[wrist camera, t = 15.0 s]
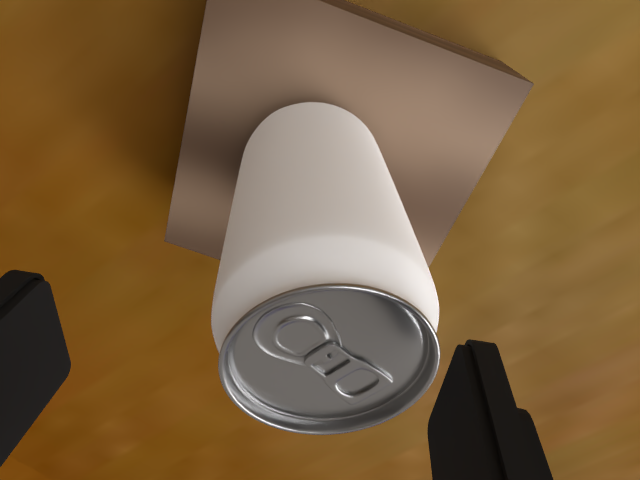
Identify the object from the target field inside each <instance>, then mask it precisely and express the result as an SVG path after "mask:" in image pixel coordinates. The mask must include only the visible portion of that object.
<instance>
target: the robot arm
mask: <svg viewBox="0 0 640 480" xmlns="http://www.w3.org/2000/svg"><path fill="white" fill-rule="evenodd" d="M70 367H71V362H70V358H69V354H68V350H67V346H66V343H65V339H64V335H63V331H62V328H61V324H60V320H59V316H58V313H57V309H56V305H55V301H54V298H53V294H52V290H51V286H50V284H49V283H48V282H47V281H45V280H44V277H43V276H42V275H41V274H38V273H32V272H25V271H19V270H11V271H9V272H7V273H6V274H4V275H3V276H2V277H1V278H0V467H1V466H2V464H3V463H4V462H5V460H6V459H7V457H8V456H9V455H10V453H11V452H12V451H13V449H14V448H15V447H16V445H17V444H18V443H19V441H20V440H21V439H22V437H23V436H24V435H25V433H26V432H27V431H28V429H29V428H30V426H31V425H32V424H33V422H34V421H35V420H36V418H37V417H38V416H39V414H40V413H41V412H42V410H43V409H44V408H45V406H46V405H47V404H48V402H49V401H50V400H51V398H52V397H53V395H54V394H55V393H56V391H57V390H58V389H59V387H60V386H61V385H62V383H63V382H64V381H65V379H66V378H67V376H68V374H69V371H70ZM428 442H429V451H430V460H431V469H432V477H433V480H553V477H552V474H551V472H550V469H549V466H548V463H547V460H546V457H545V454H544V451H543V448H542V446H541V443H540V440H539V437H538V434H537V431H536V428H535V425H534V422H533V420H532V418H531V416H530V414H529V413H528V412H527V411H526V410H524V409H520V408H517V407H516V403H515V400H514V397H513V394H512V391H511V388H510V385H509V382H508V378H507V375H506V372H505V369H504V366H503V363H502V360H501V357H500V353H499V350H498V348H497V346H496V344H495V343H489V342H483V341H476V340H467V341H466V343H465V345H458V346H457V347H456V349H455V352H454V355H453V357H452V360H451V363H450V365H449V368H448V371H447V373H446V376H445V379H444V381H443V384H442V387H441V389H440V392H439V395H438V397H437V400H436V403H435V405H434V408H433V411H432V413H431V416H430V419H429V423H428Z"/></svg>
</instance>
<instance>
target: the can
mask: <svg viewBox="0 0 640 480" xmlns="http://www.w3.org/2000/svg"><path fill="white" fill-rule="evenodd" d="M438 320H439V302H438V297H437V293H436V289H435V285H434V282H433V280H432V277H431V274H430V271H429V268H428V266H427V263H426V261H425V258H424V256H423V253H422V251H421V248H420V246H419V243H418V241H417V238H416V236H415V234H414V231H413V229H412V226H411V224H410V221H409V219H408V216H407V214H406V212H405V209H404V207H403V204H402V202H401V199H400V197H399V195H398V192H397V190H396V187H395V185H394V183H393V180H392V178H391V175H390V173H389V171H388V168H387V166H386V163H385V161H384V159H383V156H382V154H381V152H380V149H379V147H378V145H377V143H376V141H375V139H374V137H373V135H372V134H371V132H370V131H369V129H368V128H367V127H366V126H365V124H364V123H363V122H362V121H361V120H360V119H358V118H357V117H356V116H355V115H353V114H352V113H350V112H348V111H346V110H345V109H342V108H340V107H338V106H335V105H331V104H327V103H320V102H305V103H298V104H293V105H290V106H286V107H283V108H281V109H279V110H277V111H275V112H273V113H272V114H270V115H269V116H268V117H267V118H266V119H264V120H263V121H262V122H261V124H260V125H259V126H258V127H257V128H256V130H255V131H254V132H253V134H252V135H251V137H250V139H249V141H248V143H247V145H246V147H245V150H244V153H243V157H242V161H241V165H240V170H239V174H238V179H237V184H236V188H235V193H234V198H233V202H232V207H231V212H230V217H229V222H228V226H227V231H226V236H225V241H224V246H223V251H222V256H221V261H220V266H219V271H218V276H217V281H216V286H215V292H214V298H213V304H212V316H211V324H212V332H213V336H214V340H215V343H216V346H217V349H218V351H219V361H218V369H219V376H220V380H221V383H222V385H223V388H224V390H225V391H226V393H227V395H228V396H229V398H230V399H231V400H232V401H233V402H234V403H235V404H236V406H238V407H239V408H240V409H241V410H242V411H243V412H245V413H246V414H247V415H249V416H251V417H252V418H254V419H256V420H258V421H260V422H262V423H264V424H266V425H269V426H271V427H274V428H277V429H281V430H285V431H289V432H294V433H301V434H313V435H329V434H341V433H348V432H353V431H358V430H362V429H365V428H369V427H372V426H375V425H378V424H380V423H383V422H385V421H387V420H389V419H391V418H393V417H395V416H397V415H399V414H400V413H402V412H403V411H405V410H406V409H408V408H409V407H410V406H412V405H413V404H414V403H415V402H416V401H418V400H419V399H420V398H421V397H422V395H423V394H424V393H425V392H426V391H427V389H428V388H429V387H430V385H431V384H432V382H433V380H434V378H435V376H436V373H437V371H438V367H439V363H440V345H439V340H438V337H437V334H436V331H437V326H438Z"/></svg>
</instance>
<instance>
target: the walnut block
mask: <svg viewBox="0 0 640 480" xmlns="http://www.w3.org/2000/svg"><path fill="white" fill-rule="evenodd" d="M533 85H534V84H533V83H532V82H530V81H529V80H528V79H526V78H525V77H523V76H522V75H520V74H519V73H517V72H516V71H515V70H513V69H512V68H510V67H509V66H507V65H506V64H504V63H503V62H501V61H499V60H496V59H493V58H491V57H488V56H486V55H483V54H481V53H478V52H475V51H473V50H470V49H468V48H465V47H463V46H460V45H458V44H455V43H452V42H450V41H447V40H445V39H442V38H440V37H437V36H434V35H432V34H429V33H427V32H424V31H422V30H419V29H417V28H414V27H411V26H409V25H406V24H404V23H401V22H399V21H396V20H393V19H391V18H388V17H386V16H383V15H381V14H378V13H376V12H373V11H370V10H368V9H365V8H363V7H360V6H358V5H355V4H352V3H350V2H347V1H345V0H207V3H206V8H205V14H204V20H203V25H202V31H201V37H200V42H199V48H198V54H197V59H196V65H195V71H194V76H193V82H192V87H191V93H190V99H189V104H188V110H187V116H186V121H185V127H184V133H183V138H182V144H181V150H180V155H179V161H178V167H177V172H176V178H175V184H174V189H173V195H172V201H171V206H170V212H169V218H168V223H167V229H166V235H165V240H164V241H165V242H168V243H171V244H174V245H177V246H180V247H183V248H186V249H189V250H192V251H195V252H198V253H201V254H204V255H207V256H210V257H213V258H216V259H219V260H221V256H222V251H223V246H224V241H225V236H226V231H227V226H228V222H229V217H230V212H231V207H232V202H233V198H234V193H235V188H236V184H237V179H238V174H239V170H240V165H241V161H242V157H243V153H244V150H245V147H246V145H247V143H248V141H249V139H250V137H251V135H252V134H253V132H254V131H255V130H256V128H257V127H258V126H259V125H260V124H261V122H262V121H263V120H264V119H266V118H267V117H268V116H269V115H270V114H272V113H273V112H275V111H277V110H279V109H281V108H283V107H286V106H290V105H293V104H298V103H305V102H320V103H327V104H331V105H335V106H338V107H340V108H342V109H345V110H346V111H348V112H350V113H352V114H353V115H355V116H356V117H357V118H358V119H360V120H361V121H362V122H363V123H364V124H365V126H366V127H367V128H368V129H369V131H370V132H371V134H372V135H373V137H374V139H375V141H376V143H377V145H378V147H379V149H380V152H381V154H382V156H383V159H384V161H385V163H386V166H387V168H388V171H389V173H390V175H391V178H392V180H393V183H394V185H395V187H396V190H397V192H398V195H399V197H400V199H401V202H402V204H403V207H404V209H405V212H406V214H407V216H408V219H409V221H410V224H411V226H412V229H413V231H414V234H415V236H416V238H417V241H418V243H419V246H420V248H421V251H422V253H423V256H424V258H425V261H426V263H427V266H428V268H429V266H430V264H431V262H432V261H433V259H434V257H435V255H436V254H437V252H438V250H439V248H440V247H441V245H442V243H443V242H444V240H445V238H446V236H447V235H448V233H449V231H450V229H451V228H452V226H453V224H454V222H455V221H456V219H457V217H458V215H459V214H460V212H461V210H462V208H463V207H464V205H465V203H466V201H467V200H468V198H469V196H470V194H471V193H472V191H473V189H474V187H475V186H476V184H477V182H478V180H479V179H480V177H481V175H482V173H483V172H484V170H485V168H486V167H487V165H488V163H489V161H490V160H491V158H492V156H493V154H494V153H495V151H496V149H497V147H498V146H499V144H500V142H501V140H502V139H503V137H504V135H505V133H506V132H507V130H508V128H509V126H510V125H511V123H512V121H513V119H514V118H515V116H516V114H517V112H518V111H519V109H520V107H521V105H522V104H523V102H524V100H525V98H526V97H527V95H528V93H529V92H530V90H531V88H532V86H533Z"/></svg>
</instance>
